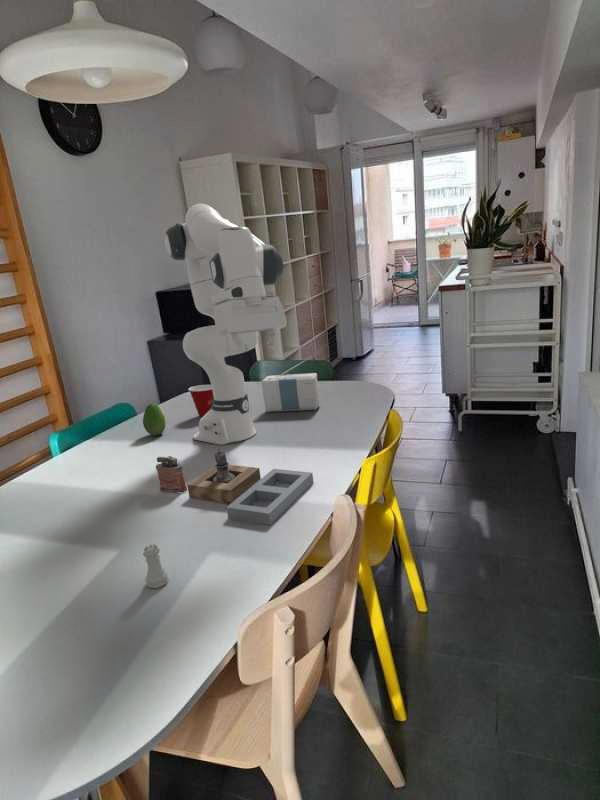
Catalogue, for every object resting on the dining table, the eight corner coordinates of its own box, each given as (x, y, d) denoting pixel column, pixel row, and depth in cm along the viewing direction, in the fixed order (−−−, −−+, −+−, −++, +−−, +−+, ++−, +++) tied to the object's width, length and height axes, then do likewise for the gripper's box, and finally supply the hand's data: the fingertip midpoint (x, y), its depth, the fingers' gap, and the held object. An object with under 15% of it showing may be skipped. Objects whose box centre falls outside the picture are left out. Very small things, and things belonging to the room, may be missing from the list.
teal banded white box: (265, 413, 211) (258, 363, 206) (270, 407, 219) (264, 358, 214) (317, 411, 206) (312, 359, 201) (321, 404, 214) (316, 355, 208)
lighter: (189, 488, 152) (183, 454, 150) (183, 493, 149) (176, 459, 147) (164, 486, 155) (158, 454, 152) (158, 492, 152) (151, 459, 149)
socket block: (189, 498, 146) (187, 484, 145) (219, 476, 158) (217, 463, 157) (232, 504, 139) (230, 490, 138) (261, 481, 151) (259, 468, 150)
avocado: (170, 430, 205) (164, 399, 201) (163, 437, 197) (157, 406, 194) (150, 431, 206) (144, 401, 202) (142, 439, 198) (135, 408, 195)
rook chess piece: (148, 577, 112) (141, 543, 110) (170, 574, 112) (163, 540, 110) (144, 591, 108) (136, 555, 105) (167, 587, 108) (159, 552, 106)
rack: (228, 518, 133) (226, 507, 132) (274, 478, 152) (273, 468, 151) (270, 525, 127) (269, 513, 126) (313, 482, 146) (312, 472, 145)
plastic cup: (226, 412, 219) (221, 383, 216) (208, 420, 211) (202, 391, 207) (206, 410, 225) (201, 382, 222) (187, 418, 217) (182, 389, 213)
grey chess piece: (232, 494, 145) (225, 452, 142) (212, 494, 147) (204, 453, 143) (239, 484, 151) (233, 444, 147) (219, 485, 152) (212, 444, 149)
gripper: (269, 295, 141) (280, 348, 142) (205, 298, 126) (217, 356, 127) (286, 289, 137) (297, 343, 137) (222, 291, 122) (234, 351, 123)
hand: (258, 350), depth 132 cm, fingers open, 8 cm apart
